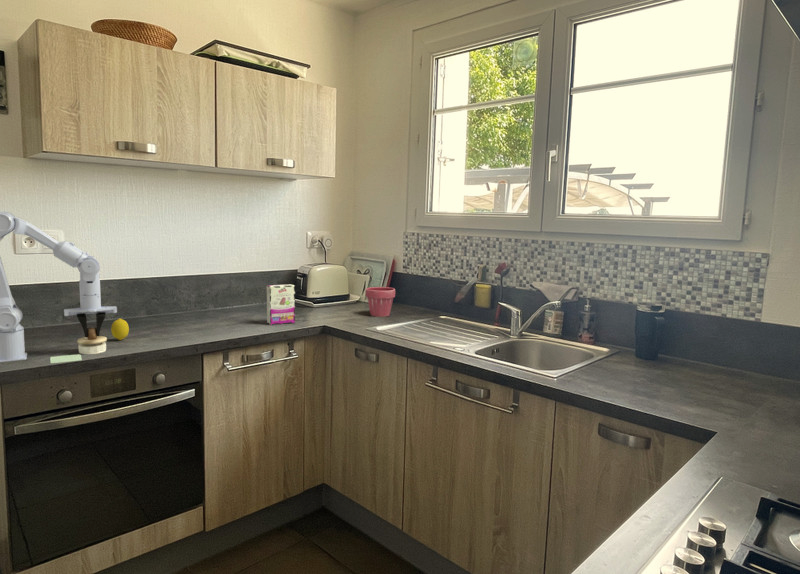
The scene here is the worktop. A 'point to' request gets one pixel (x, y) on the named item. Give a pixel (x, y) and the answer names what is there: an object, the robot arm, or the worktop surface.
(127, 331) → the lemon
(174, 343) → the worktop surface
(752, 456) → the worktop surface
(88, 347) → the bowl
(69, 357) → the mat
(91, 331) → the lid
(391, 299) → the plant pot
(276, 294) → the candy bar box
